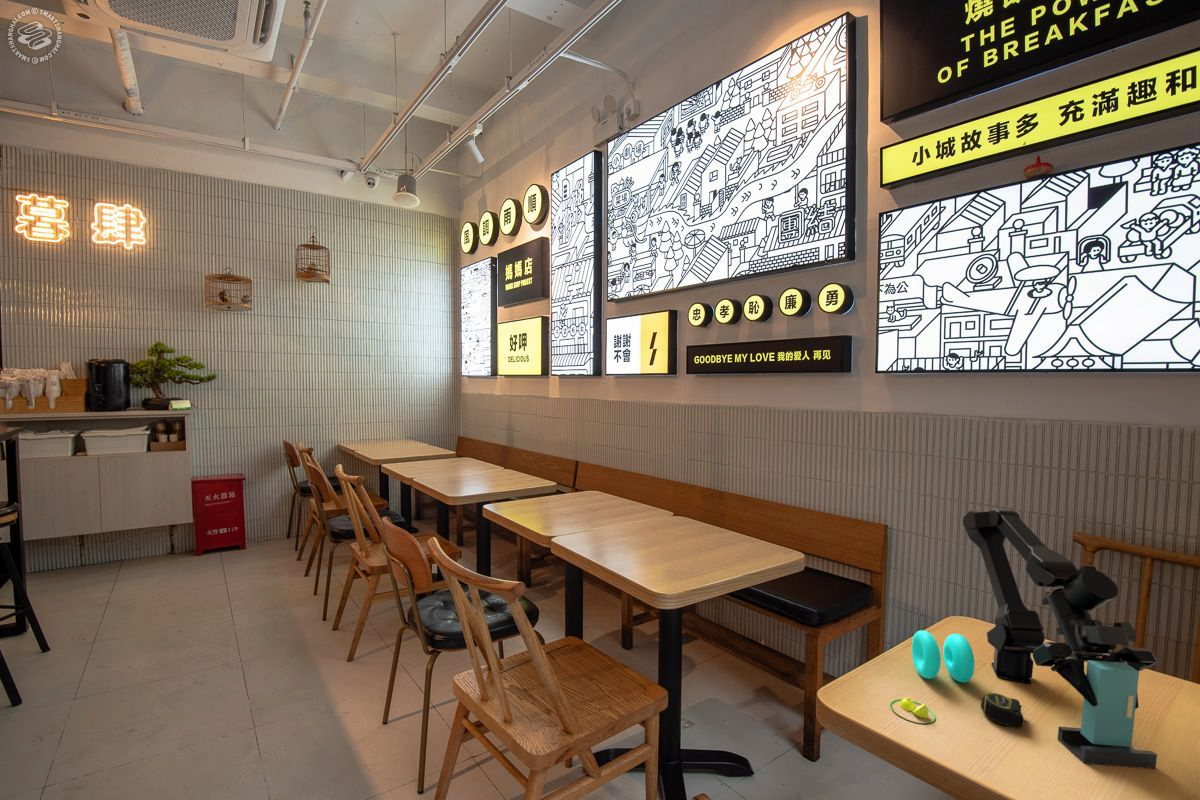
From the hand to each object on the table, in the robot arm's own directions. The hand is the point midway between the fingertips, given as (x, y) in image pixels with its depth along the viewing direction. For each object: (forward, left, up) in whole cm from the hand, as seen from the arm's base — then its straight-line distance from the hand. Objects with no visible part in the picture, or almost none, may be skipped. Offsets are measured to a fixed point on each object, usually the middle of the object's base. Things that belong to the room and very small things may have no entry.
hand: (1115, 707), depth 103 cm
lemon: (-32, 0, -10) cm, 33 cm away
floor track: (0, +1, -10) cm, 10 cm away
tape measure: (-15, +6, -10) cm, 19 cm away
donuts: (-25, +18, -10) cm, 32 cm away
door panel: (0, +1, -7) cm, 7 cm away
